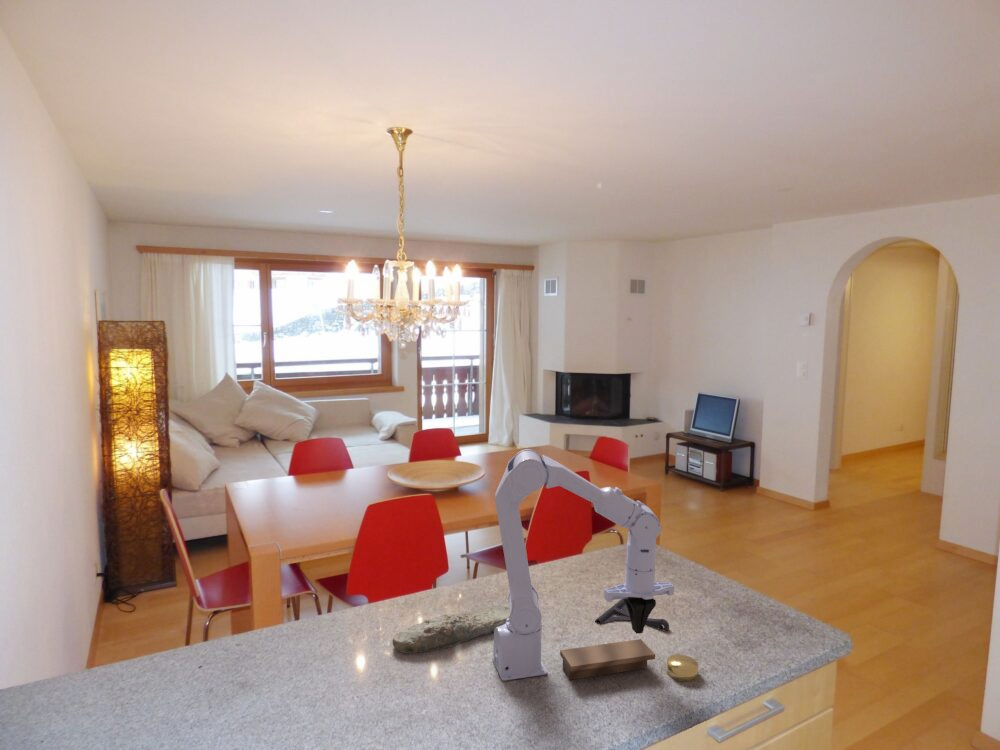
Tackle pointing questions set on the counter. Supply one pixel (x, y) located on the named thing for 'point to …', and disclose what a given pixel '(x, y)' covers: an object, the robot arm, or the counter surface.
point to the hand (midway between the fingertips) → (637, 630)
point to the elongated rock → (450, 629)
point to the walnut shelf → (605, 658)
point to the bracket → (628, 616)
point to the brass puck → (682, 668)
